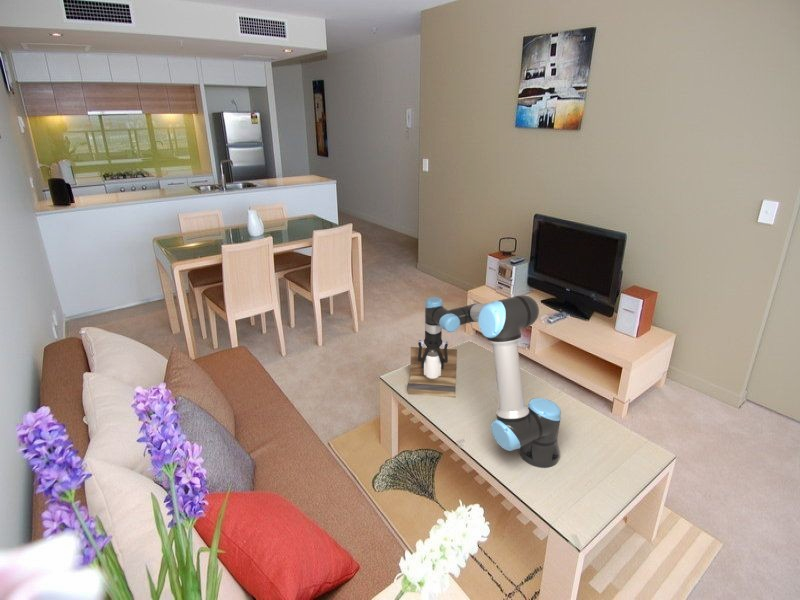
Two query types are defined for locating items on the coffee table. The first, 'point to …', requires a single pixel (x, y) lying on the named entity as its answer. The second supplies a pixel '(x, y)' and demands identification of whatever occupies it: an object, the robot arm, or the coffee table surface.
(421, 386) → the brown piece
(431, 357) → the can
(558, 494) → the coffee table surface
